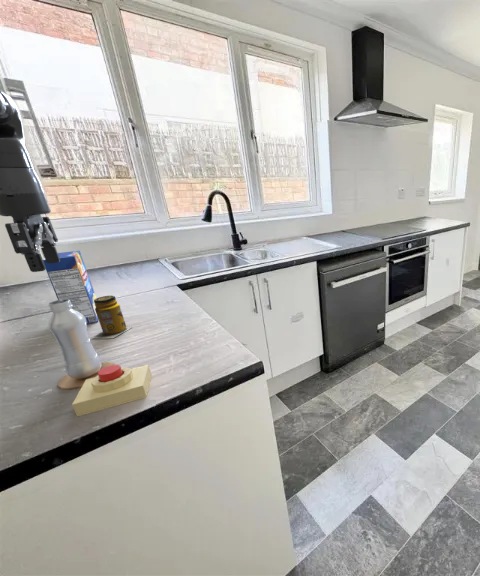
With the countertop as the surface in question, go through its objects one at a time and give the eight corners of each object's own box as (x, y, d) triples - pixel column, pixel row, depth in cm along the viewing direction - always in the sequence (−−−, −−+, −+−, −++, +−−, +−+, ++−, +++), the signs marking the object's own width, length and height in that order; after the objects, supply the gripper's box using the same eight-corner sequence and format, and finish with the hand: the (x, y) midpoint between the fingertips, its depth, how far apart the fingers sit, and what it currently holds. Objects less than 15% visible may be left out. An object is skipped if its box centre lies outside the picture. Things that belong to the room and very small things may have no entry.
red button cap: (98, 384, 68) (95, 376, 67) (102, 375, 71) (100, 367, 70) (121, 379, 70) (118, 371, 69) (124, 370, 73) (122, 362, 72)
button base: (77, 416, 65) (68, 397, 63) (90, 390, 73) (83, 372, 72) (146, 397, 71) (140, 378, 69) (151, 375, 79) (146, 358, 77)
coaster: (51, 395, 72) (50, 393, 72) (67, 371, 81) (66, 369, 81) (111, 380, 77) (110, 378, 77) (120, 359, 86) (119, 358, 86)
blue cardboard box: (74, 316, 115) (50, 253, 107) (101, 311, 119) (79, 250, 111) (69, 328, 106) (42, 260, 98) (97, 322, 110) (74, 256, 102)
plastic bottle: (62, 383, 75) (29, 308, 68) (83, 368, 81) (55, 297, 75) (92, 381, 76) (62, 306, 69) (110, 365, 82) (85, 295, 76)
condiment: (133, 326, 106) (123, 294, 102) (113, 338, 98) (101, 303, 94) (112, 327, 106) (101, 294, 102) (90, 339, 98) (77, 304, 94)
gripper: (8, 191, 68) (36, 262, 73) (-31, 193, 56) (7, 277, 62) (54, 190, 72) (78, 258, 77) (27, 191, 60) (57, 271, 65)
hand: (46, 266), depth 69 cm, fingers open, 8 cm apart
